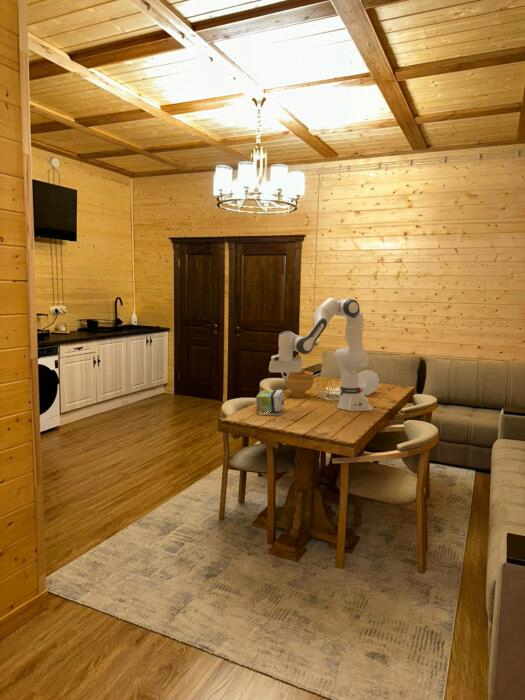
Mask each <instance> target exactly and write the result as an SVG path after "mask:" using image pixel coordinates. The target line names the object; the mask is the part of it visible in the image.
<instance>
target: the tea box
mask: <svg viewBox="0 0 525 700" xmlns="http://www.w3.org/2000/svg"><path fill="white" fill-rule="evenodd" d="M255 398H256V399H255V400H256V407H257V409H256V412H257V411H280V410H281V411H282V408H283V407H284V404H285V402H284V391H283V389H273V390H272V389H268V390H267V389H266V390H263V389H262V390H260V391H259V392H258V394H257V395H256V396H255Z"/></svg>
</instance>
